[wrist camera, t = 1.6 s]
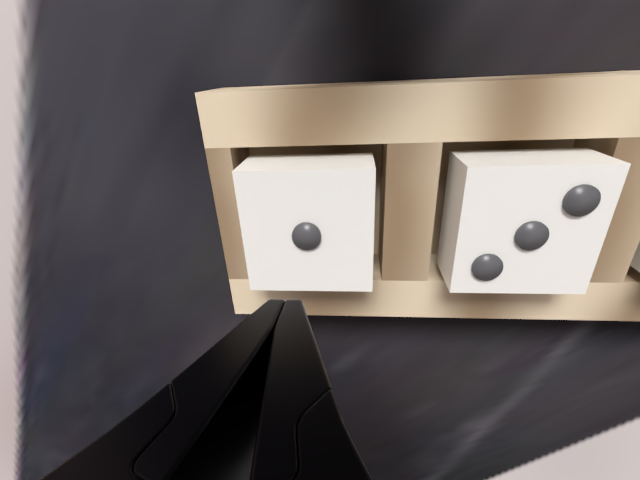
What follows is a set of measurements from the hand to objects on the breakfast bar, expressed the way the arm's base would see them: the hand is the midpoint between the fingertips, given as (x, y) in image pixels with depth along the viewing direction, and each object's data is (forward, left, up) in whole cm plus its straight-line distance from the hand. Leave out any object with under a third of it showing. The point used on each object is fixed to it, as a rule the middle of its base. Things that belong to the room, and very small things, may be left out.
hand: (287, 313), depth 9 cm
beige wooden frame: (-8, 0, -9) cm, 12 cm away
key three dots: (-8, 0, -7) cm, 11 cm away
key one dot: (0, 0, -7) cm, 7 cm away
